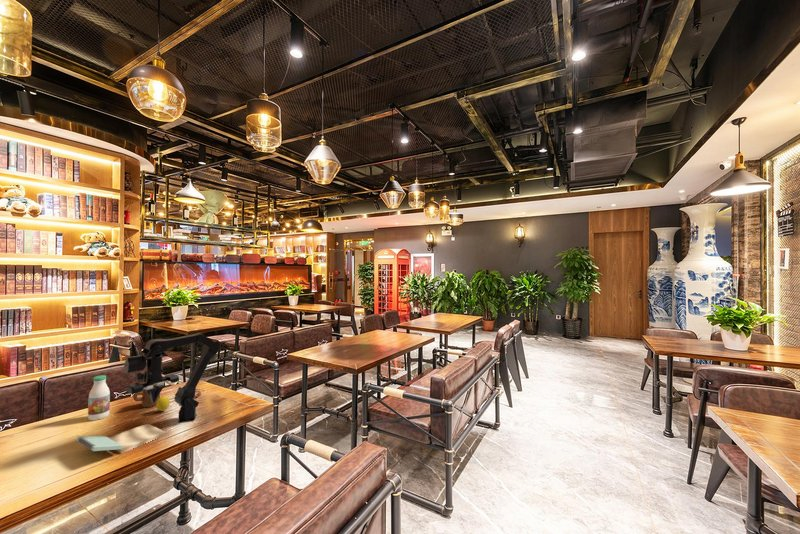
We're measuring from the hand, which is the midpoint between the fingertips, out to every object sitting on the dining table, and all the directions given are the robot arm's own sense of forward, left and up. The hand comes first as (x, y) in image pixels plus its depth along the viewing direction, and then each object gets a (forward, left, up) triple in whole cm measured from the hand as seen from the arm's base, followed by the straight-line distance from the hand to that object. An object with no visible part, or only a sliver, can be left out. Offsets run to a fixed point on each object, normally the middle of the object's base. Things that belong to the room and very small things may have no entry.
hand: (153, 402), depth 144 cm
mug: (+12, -32, -13) cm, 37 cm away
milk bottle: (+29, -25, -13) cm, 41 cm away
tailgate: (+11, +11, -11) cm, 19 cm away
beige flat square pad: (+4, +6, -13) cm, 15 cm away
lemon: (+2, -22, -13) cm, 26 cm away
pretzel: (-6, -40, -14) cm, 42 cm away
